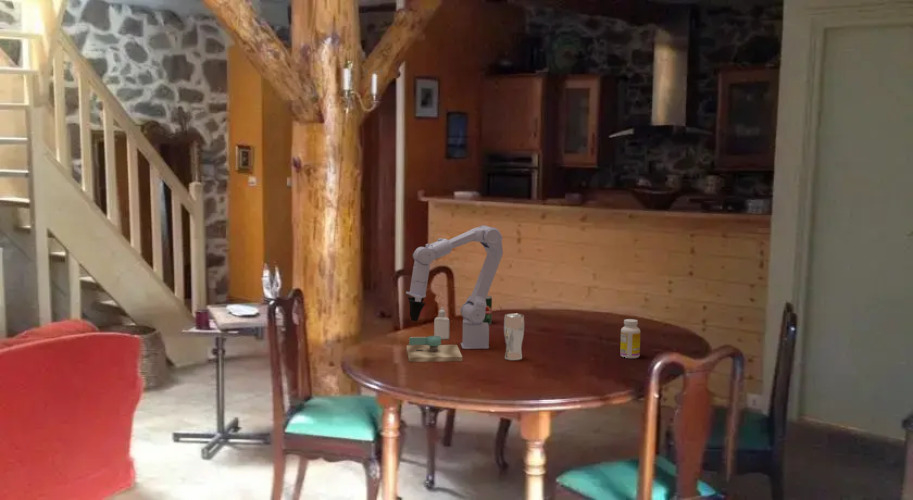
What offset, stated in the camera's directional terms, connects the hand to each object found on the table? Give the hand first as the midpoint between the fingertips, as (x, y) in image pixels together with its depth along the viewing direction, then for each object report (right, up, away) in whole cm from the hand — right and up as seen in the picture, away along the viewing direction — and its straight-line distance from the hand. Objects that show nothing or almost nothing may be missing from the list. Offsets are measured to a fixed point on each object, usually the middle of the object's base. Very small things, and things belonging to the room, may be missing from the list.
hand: (413, 319), depth 307 cm
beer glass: (+35, -13, -8) cm, 38 cm away
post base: (+7, -12, -4) cm, 15 cm away
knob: (+4, -8, -5) cm, 11 cm away
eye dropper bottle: (+10, -9, +22) cm, 26 cm away
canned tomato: (+26, -6, +51) cm, 58 cm away
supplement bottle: (+75, -13, -3) cm, 77 cm away
